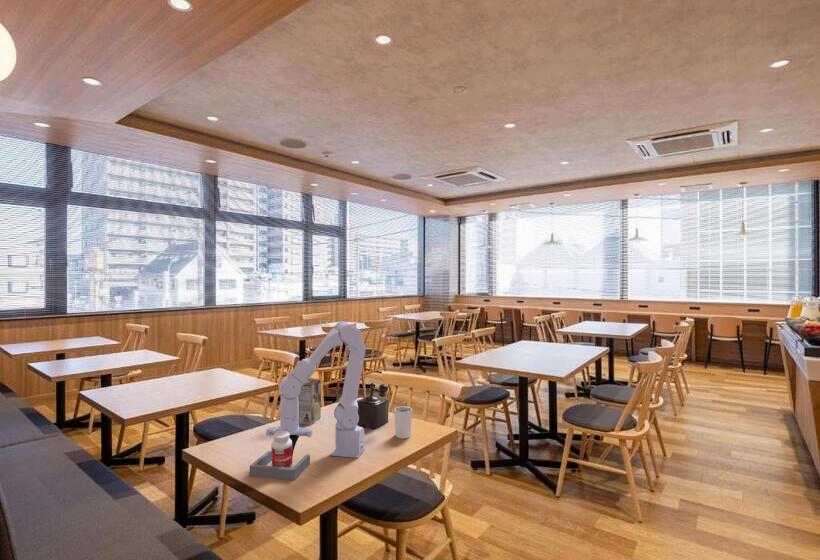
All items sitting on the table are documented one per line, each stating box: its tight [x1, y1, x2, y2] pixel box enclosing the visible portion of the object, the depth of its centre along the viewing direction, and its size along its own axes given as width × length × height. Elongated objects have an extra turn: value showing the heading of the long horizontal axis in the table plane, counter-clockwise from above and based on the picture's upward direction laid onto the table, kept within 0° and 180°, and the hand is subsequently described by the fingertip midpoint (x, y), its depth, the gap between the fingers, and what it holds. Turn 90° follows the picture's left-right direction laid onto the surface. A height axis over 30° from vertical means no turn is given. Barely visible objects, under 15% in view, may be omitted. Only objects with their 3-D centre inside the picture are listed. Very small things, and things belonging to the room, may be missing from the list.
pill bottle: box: [270, 431, 293, 468], centre depth 136 cm, size 6×6×11 cm
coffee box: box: [298, 378, 322, 426], centre depth 180 cm, size 9×6×16 cm
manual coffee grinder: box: [357, 382, 390, 430], centre depth 176 cm, size 16×11×18 cm
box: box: [249, 450, 311, 481], centre depth 136 cm, size 14×11×3 cm
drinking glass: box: [394, 405, 413, 439], centre depth 165 cm, size 7×7×10 cm
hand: (289, 457), depth 141 cm, fingers closed
